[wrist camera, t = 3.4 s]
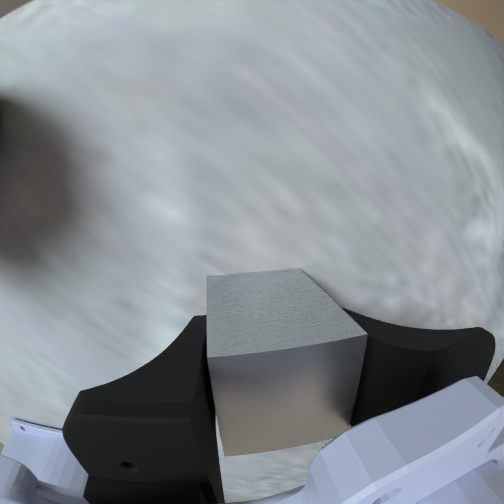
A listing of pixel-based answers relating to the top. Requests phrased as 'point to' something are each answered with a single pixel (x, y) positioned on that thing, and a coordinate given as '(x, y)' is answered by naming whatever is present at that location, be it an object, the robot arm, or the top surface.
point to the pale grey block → (280, 361)
